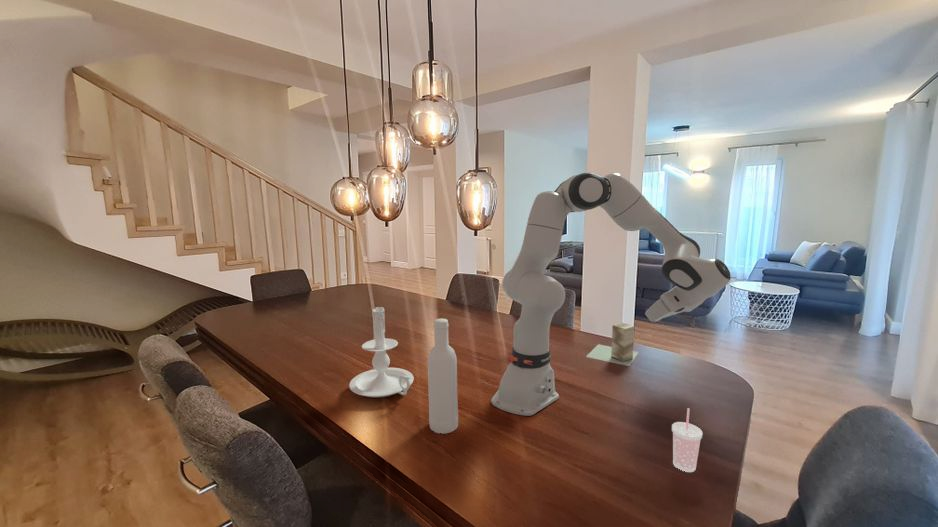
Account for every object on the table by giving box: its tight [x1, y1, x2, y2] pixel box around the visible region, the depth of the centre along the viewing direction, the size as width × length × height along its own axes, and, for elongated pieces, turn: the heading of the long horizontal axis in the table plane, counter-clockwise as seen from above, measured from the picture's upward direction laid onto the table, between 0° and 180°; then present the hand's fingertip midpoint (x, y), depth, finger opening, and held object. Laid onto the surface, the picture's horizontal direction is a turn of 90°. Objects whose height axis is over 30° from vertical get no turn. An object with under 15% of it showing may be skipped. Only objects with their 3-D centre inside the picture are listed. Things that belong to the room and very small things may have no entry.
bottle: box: [426, 318, 459, 435], centre depth 103 cm, size 8×8×30 cm
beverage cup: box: [671, 407, 704, 473], centre depth 87 cm, size 6×6×14 cm
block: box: [611, 322, 635, 362], centre depth 147 cm, size 6×6×13 cm
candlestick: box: [348, 306, 415, 398], centre depth 124 cm, size 21×25×28 cm
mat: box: [585, 343, 639, 367], centre depth 152 cm, size 16×16×1 cm
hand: (654, 319), depth 135 cm, fingers closed
